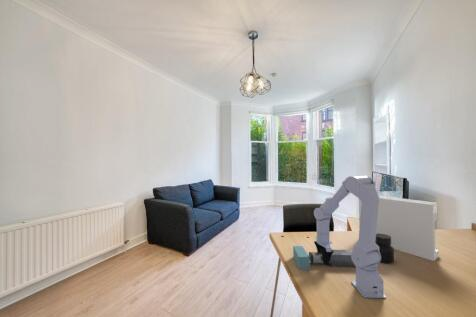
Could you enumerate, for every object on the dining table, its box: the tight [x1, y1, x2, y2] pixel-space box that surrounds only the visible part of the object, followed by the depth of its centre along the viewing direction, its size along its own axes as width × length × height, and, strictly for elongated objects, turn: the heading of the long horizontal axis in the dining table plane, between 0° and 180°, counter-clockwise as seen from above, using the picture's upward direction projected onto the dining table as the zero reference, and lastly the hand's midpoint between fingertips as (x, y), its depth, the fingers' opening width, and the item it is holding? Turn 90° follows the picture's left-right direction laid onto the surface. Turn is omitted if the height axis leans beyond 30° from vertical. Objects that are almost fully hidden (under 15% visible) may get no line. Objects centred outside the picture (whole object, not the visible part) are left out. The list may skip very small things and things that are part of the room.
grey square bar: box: [308, 251, 330, 264], centre depth 97 cm, size 4×18×4 cm, turn 87°
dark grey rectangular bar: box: [328, 249, 355, 268], centre depth 97 cm, size 6×14×6 cm, turn 87°
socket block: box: [292, 245, 311, 271], centre depth 98 cm, size 12×5×6 cm, turn 177°
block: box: [358, 195, 440, 262], centre depth 116 cm, size 35×8×28 cm, turn 33°
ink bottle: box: [375, 234, 395, 264], centre depth 100 cm, size 10×9×12 cm
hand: (323, 260), depth 97 cm, fingers open, 6 cm apart
